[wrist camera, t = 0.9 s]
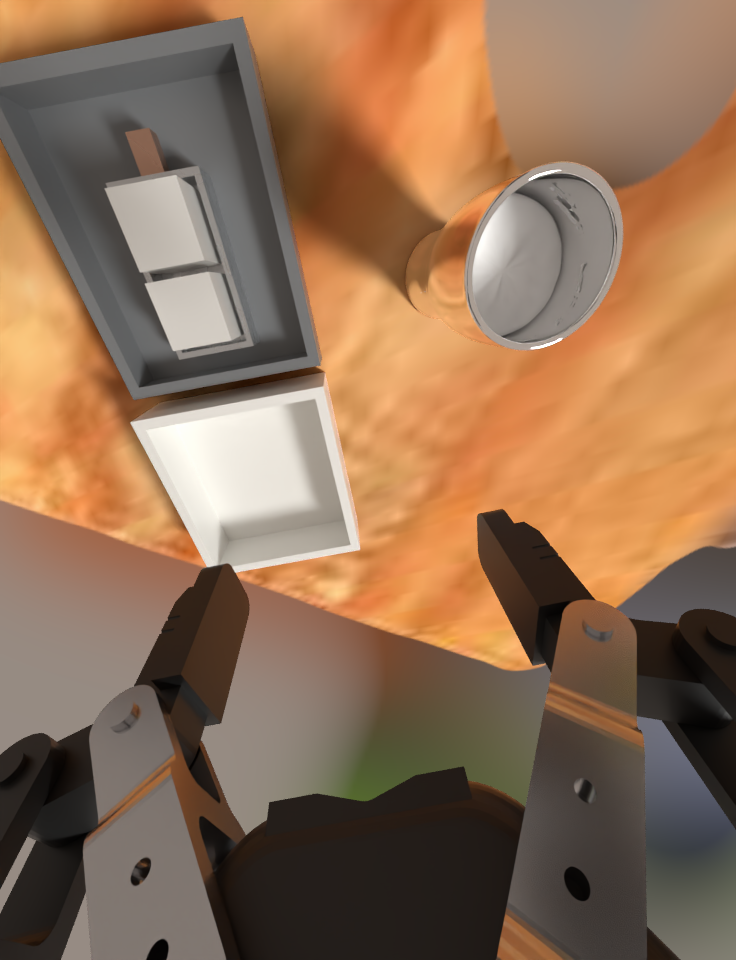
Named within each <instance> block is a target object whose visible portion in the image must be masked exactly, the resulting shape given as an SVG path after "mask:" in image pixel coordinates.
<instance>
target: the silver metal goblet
mask: <svg viewBox="0 0 736 960" xmlns="http://www.w3.org/2000/svg"><path fill="white" fill-rule="evenodd" d="M622 246H623V221H622V214H621V210H620V206H619V203H618V200H617V198H616V196H615V194H614V192H613V190H612V188H611V187H610V185H609V184H608V183H607V182H606V180H605V179H604V178H603V177H602V176H601V175H600V174H598V173H597V172H596V171H594V170H593V169H591V168H589V167H587V166H584V165H582V164H578V163H574V162H553V163H547V164H544V165H540V166H538V167H535V168H533V169H531V170H529V171H527V172H525V173H523V174H521V175H518V176H515V177H513V178H510V179H508V180H505V181H503V182H501V183H499V184H496V185H495V186H493V187H491V188H489V189H487V190H485V191H483V192H482V193H480V194H478V195H477V196H476V197H474V198H473V199H471V200H470V201H469V202H468V203H466V204H465V205H464V206H462V207H461V208H460V209H459V210H458V211H457V212H456V213H455V214H454V215H453V216H452V217H451V218H450V220H449V221H448V222H447V223H446V225H445V226H444V227H443V229H440V230H437V231H434V232H432V233H430V234H429V235H427V236H426V237H425V238H423V239H422V240H421V241H420V242H419V243H418V245H417V246H416V247H415V249H414V250H413V252H412V254H411V256H410V258H409V261H408V264H407V268H406V276H405V281H406V289H407V293H408V296H409V298H410V300H411V302H412V304H413V305H414V307H415V308H416V309H417V310H418V311H419V312H420V313H422V314H423V315H425V316H427V317H429V318H433V319H441V320H442V321H443V322H444V323H445V324H446V325H447V326H448V327H449V328H450V329H451V330H453V331H454V332H456V333H457V334H459V335H461V336H463V337H465V338H467V339H470V340H472V341H475V342H479V343H482V344H486V345H492V346H497V347H505V348H508V349H512V350H519V351H530V350H537V349H541V348H545V347H548V346H551V345H553V344H555V343H557V342H559V341H561V340H563V339H565V338H566V337H568V336H569V335H571V334H572V333H574V332H575V331H576V330H577V329H579V328H580V327H581V326H582V325H583V324H584V323H585V322H586V321H587V320H588V319H589V318H590V317H591V316H592V314H593V313H594V312H595V311H596V309H597V308H598V307H599V305H600V304H601V302H602V301H603V299H604V298H605V296H606V294H607V292H608V290H609V289H610V286H611V284H612V282H613V280H614V277H615V275H616V272H617V269H618V266H619V262H620V258H621V252H622Z"/></svg>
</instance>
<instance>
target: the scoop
mask: <svg viewBox="0 0 736 960" xmlns="http://www.w3.org/2000/svg"><path fill="white" fill-rule="evenodd" d="M125 134H126V136H127V139H128V142H129V144H130V147H131V150H132V152H133V155H134V158H135V160H136V163H137V166H138V168H139V171H140V174H141V176H140V177H135V178H130V179H124V180H119V181H114V182H109V183H106V185H107V188H110V187H115V186H120V185H126V184H131V183H136V182H141V181H147V180H152V179H157V178H163V177H168V176H173V175H177V176H178V177H179V178H181V179H182V180H184V181H185V182H187V183H188V184H189V185H191V186H192V187H194V188H195V189H196V190H198V191H199V192H200V195H201V198H202V201H203V205H204V208H205V211H206V214H207V217H208V220H209V224H210V227H211V230H212V233H213V236H214V239H215V243H216V246H217V249H218V252H219V255H220V258H221V262H222V264H221V265H216V266H211V267H205V268H200V269H195V270H189V271H184V272H179V273H173V274H168V275H167V274H154V273H143V274H144V276H145V279H146V281H147V283H151V282H156V281H161V280H167V279H172V278H177V277H183V276H188V275H193V274H199V273H204V272H215V273H223V274H226V277H227V281H228V284H229V287H230V290H231V293H232V296H233V300H234V303H235V306H236V309H237V312H238V315H239V319H240V322H241V325H242V328H243V331H244V334H243V335H241V336H239V337H237V338H235V339H233V340H231V341H226V342H220V343H215V344H210V345H204V346H199V347H193V348H188V349H183V350H177V351H176V353H177V355H178V358H179V360H181V359H186V358H191V357H197V356H202V355H207V354H213V353H218V352H223V351H229V350H234V349H240V348H245V347H250V346H254V345H256V344H257V343H258V342H260V340H259V337H258V333H257V330H256V327H255V323H254V320H253V317H252V313H251V310H250V307H249V303H248V300H247V297H246V293H245V290H244V286H243V283H242V280H241V276H240V273H239V270H238V266H237V263H236V260H235V256H234V253H233V250H232V246H231V243H230V240H229V236H228V233H227V229H226V226H225V223H224V219H223V216H222V213H221V209H220V206H219V203H218V199H217V196H216V193H215V189H214V186H213V183H212V179H211V177H210V176H209V175H208V174H207V173H206V172H205V171H204V170H203V169H201V168H200V167H199V166H193V167H188V168H183V169H177V170H172V171H169V168H168V165H167V163H166V160H165V157H164V154H163V151H162V148H161V145H160V142H159V139H158V136H157V134H156V133H155V132H154V131H152V130H151V129H150V128H145V129H139V130H134V131H129V132H125Z"/></svg>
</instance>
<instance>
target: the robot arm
mask: <svg viewBox="0 0 736 960" xmlns="http://www.w3.org/2000/svg"><path fill="white" fill-rule="evenodd" d="M477 531H478V554H479V558H480V562H481V565H482V568H483V570H484V572H485V574H486V576H487V578H488V580H489V582H490V583H491V585H492V587H493V589H494V591H495V593H496V595H497V597H498V599H499V601H500V603H501V605H502V607H503V609H504V611H505V613H506V615H507V617H508V619H509V621H510V623H511V624H512V626H513V628H514V630H515V632H516V634H517V636H518V638H519V640H520V642H521V644H522V646H523V648H524V650H525V652H526V654H527V656H528V658H529V660H530V662H531V663H532V665H533V666H534V665H539V664H544V663H546V665H547V666H548V668H549V670H550V672H551V678H550V683H549V689H548V692H547V697H546V702H545V707H544V712H543V718H542V723H541V728H540V733H539V739H538V744H537V749H536V755H535V760H534V765H533V770H532V776H531V781H530V786H529V791H528V797H527V802H526V807H524V806H523V805H522V804H521V803H519V802H518V801H517V800H515V799H513V798H512V797H510V796H508V795H507V794H506V793H504V792H502V791H499V790H497V789H495V788H493V787H491V786H488V785H485V784H481V783H478V782H472V781H468V780H467V776H466V772H465V769H464V767H458V768H453V769H447V770H442V771H437V772H431V773H426V774H421V775H415V776H414V777H412V778H410V779H408V780H406V781H405V782H403V783H401V784H399V785H397V786H395V787H394V788H392V789H390V790H388V791H387V792H385V793H383V794H381V795H379V796H377V797H376V798H374V799H372V800H369V801H357V800H351V799H345V798H340V797H334V796H328V795H322V794H312V795H306V796H301V797H296V798H290V799H285V800H279V801H274V802H270V803H269V809H268V817H267V820H266V821H265V822H263V823H261V824H260V825H259V826H257V827H256V828H254V829H253V830H252V831H251V832H250V833H248V834H247V835H246V834H245V832H244V831H243V829H242V827H241V825H240V824H239V822H238V821H237V819H236V818H235V816H234V814H233V813H232V811H231V809H230V807H229V805H228V803H227V800H226V798H225V795H224V793H223V790H222V788H221V785H220V783H219V781H218V778H217V775H216V773H215V770H214V768H213V766H212V763H211V761H210V758H209V756H208V753H207V751H206V748H205V746H204V744H203V742H202V741H201V737H202V733H203V730H204V726H209V725H215V724H220V723H221V721H222V717H223V713H224V710H225V706H226V702H227V698H228V694H229V690H230V686H231V682H232V678H233V674H234V670H235V667H236V663H237V659H238V654H239V651H240V647H241V643H242V639H243V635H244V631H245V628H246V623H247V620H248V616H249V600H248V597H247V594H246V592H245V590H244V588H243V586H242V584H241V583H240V581H239V579H238V577H237V575H236V573H235V571H234V570H233V568H232V566H231V565H230V564H228V563H226V564H221V565H216V566H211V567H206V568H203V569H202V570H201V572H200V573H199V576H198V578H197V580H196V582H195V584H194V587H189V588H188V589H187V590H186V591H185V592H184V593H183V594H182V595H181V597H180V598H179V599H178V600H177V601H176V602H175V604H174V606H173V608H172V610H171V612H170V615H169V616H168V621H166V622H165V624H164V627H163V628H162V633H161V634H159V637H158V639H157V641H156V643H155V645H154V647H153V649H152V651H151V653H150V655H149V657H148V659H147V661H146V663H145V665H144V667H143V669H142V671H141V673H140V675H139V677H138V679H137V681H136V683H135V685H134V687H132V688H129V689H127V690H125V691H124V692H122V693H120V694H119V695H118V696H116V697H115V698H114V699H113V700H112V701H110V702H109V704H107V706H106V707H105V708H104V709H103V710H102V711H101V713H100V714H99V715H98V717H97V718H96V720H95V722H94V724H92V725H90V726H88V727H86V728H84V729H82V730H80V731H78V732H76V733H74V734H72V735H70V736H68V737H66V738H64V739H62V740H60V741H58V742H56V741H55V740H54V739H52V738H51V737H49V736H48V735H46V734H44V733H38V734H33V735H30V736H28V737H25V738H23V739H21V740H20V741H18V742H16V743H15V744H13V745H12V746H11V747H9V748H8V749H7V750H5V751H4V752H3V753H2V754H1V755H0V889H1V887H2V885H3V883H4V881H5V879H6V877H7V875H8V873H9V871H10V869H11V867H12V865H13V863H14V861H15V859H16V857H17V855H18V853H19V852H20V850H21V848H22V846H23V844H24V842H25V840H26V838H27V836H28V837H30V838H32V839H34V840H36V842H35V844H34V846H33V848H32V851H31V853H30V854H29V856H28V858H27V861H26V863H25V865H24V867H23V869H22V871H21V873H20V875H19V877H18V879H17V881H16V883H15V885H14V887H13V889H12V891H11V893H10V895H9V897H8V899H7V901H6V903H5V905H4V907H3V909H2V911H1V913H0V960H61V957H62V955H63V952H64V949H65V947H66V944H67V941H68V938H69V936H70V933H71V931H72V928H73V925H74V922H75V920H76V917H77V914H78V912H79V909H80V906H81V904H82V901H83V898H84V895H85V893H86V897H87V909H88V922H89V935H90V947H91V960H680V959H679V958H678V957H677V956H676V955H675V954H674V953H673V952H672V951H671V950H670V949H669V948H668V947H667V946H666V945H665V944H664V943H663V942H662V941H661V940H660V939H659V938H658V937H657V936H656V935H655V934H654V933H653V932H652V931H651V930H650V929H649V928H648V927H647V921H646V920H647V916H646V841H645V840H646V838H645V837H646V833H645V752H644V739H643V734H642V732H641V730H639V729H638V727H637V716H640V717H646V718H652V719H658V720H662V722H663V723H664V724H665V726H666V727H667V729H668V730H669V732H670V733H671V735H672V736H673V738H674V739H675V741H676V742H677V744H678V745H679V747H680V748H681V750H682V751H683V752H684V754H685V755H686V757H687V758H688V760H689V761H690V763H691V764H692V766H693V767H694V769H695V770H696V772H697V773H698V775H699V776H700V777H701V779H702V780H703V781H704V783H705V785H706V786H707V788H708V789H709V791H710V792H711V794H712V795H713V797H714V798H715V800H716V801H717V803H718V804H719V805H720V807H721V808H722V810H723V811H724V813H725V814H726V816H727V817H728V819H729V820H730V821H731V823H732V824H733V826H734V828H735V829H736V618H735V617H734V616H731V615H729V614H726V613H723V612H719V611H715V610H709V609H694V610H690V611H687V612H685V613H684V614H683V615H682V616H681V618H680V619H679V622H678V624H674V623H664V622H653V621H643V620H635V619H630V618H627V617H626V616H625V615H624V614H623V613H622V612H620V611H619V610H618V609H616V608H614V607H613V606H610V605H608V604H606V603H603V602H600V601H596V600H595V599H594V598H593V597H592V595H591V594H590V593H589V592H588V590H587V589H586V588H585V587H584V585H583V584H582V583H581V582H580V581H579V579H578V578H577V577H576V576H575V574H574V573H573V572H572V571H571V569H570V568H569V567H568V566H567V565H566V563H565V562H564V561H563V560H562V558H561V557H559V556H558V553H557V552H556V551H555V550H554V549H553V547H552V546H550V544H549V542H548V541H547V540H546V539H545V537H544V536H543V535H542V534H541V533H540V531H538V530H537V529H535V528H533V527H532V526H530V525H528V524H527V523H525V522H520V523H515V524H514V523H513V521H512V520H511V519H510V517H509V516H508V514H507V513H506V512H505V511H504V510H503V509H500V510H495V511H490V512H485V513H480V514H478V516H477Z"/></svg>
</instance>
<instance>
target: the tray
mask: <svg viewBox="0 0 736 960" xmlns="http://www.w3.org/2000/svg"><path fill="white" fill-rule="evenodd" d="M145 128H150V129H151V130H152V131H154V132H155V133H156V134H157V136H158V139H159V142H160V145H161V148H162V151H163V154H164V157H165V160H166V163H167V165H168V168H169V171H172V170H177V169H183V168H188V167H193V166H199V167H200V168H201V169H203V170H204V171H205V172H206V173H207V174H208V175H209V176H210V177H211V179H212V183H213V186H214V189H215V193H216V196H217V199H218V203H219V206H220V209H221V213H222V216H223V219H224V223H225V226H226V229H227V233H228V236H229V240H230V243H231V246H232V250H233V253H234V256H235V260H236V263H237V266H238V270H239V273H240V276H241V280H242V283H243V286H244V290H245V293H246V297H247V300H248V303H249V307H250V310H251V313H252V317H253V320H254V323H255V327H256V330H257V333H258V337H259V340H260V342H258V343H257V344H256V345H254V346H250V347H245V348H240V349H234V350H229V351H223V352H218V353H213V354H207V355H202V356H197V357H191V358H186V359H181V360H179V358H178V355H177V353H176V351H173V350H172V347H171V345H170V343H169V340H168V338H167V336H166V333H165V331H164V328H163V326H162V324H161V321H160V319H159V317H158V314H157V312H156V309H155V307H154V305H153V302H152V300H151V298H150V295H149V293H148V291H147V288H146V286H145V283H147V281H146V279H145V276H144V274H143V273H141V272H139V269H138V267H137V264H136V262H135V260H134V257H133V255H132V253H131V250H130V248H129V245H128V243H127V241H126V238H125V236H124V234H123V231H122V229H121V226H120V224H119V222H118V219H117V217H116V215H115V212H114V210H113V208H112V205H111V203H110V200H109V198H108V196H107V193H106V191H105V189H104V188H107V185H106V183H109V182H114V181H119V180H124V179H130V178H135V177H140V176H141V174H140V171H139V168H138V166H137V163H136V160H135V158H134V155H133V152H132V150H131V147H130V144H129V142H128V139H127V136H126V134H125V132H129V131H134V130H139V129H145ZM0 139H1V141H2V143H3V145H4V147H5V149H6V151H7V153H8V155H9V156H10V158H11V160H12V162H13V164H14V166H15V168H16V170H17V172H18V174H19V176H20V178H21V180H22V182H23V184H24V186H25V188H26V190H27V192H28V194H29V196H30V198H31V200H32V202H33V204H34V206H35V207H36V209H37V211H38V213H39V215H40V217H41V219H42V221H43V223H44V225H45V227H46V229H47V231H48V233H49V235H50V237H51V239H52V241H53V243H54V245H55V247H56V249H57V251H58V253H59V255H60V256H61V258H62V260H63V262H64V264H65V266H66V268H67V270H68V272H69V274H70V276H71V278H72V280H73V282H74V284H75V286H76V288H77V290H78V292H79V294H80V296H81V298H82V300H83V302H84V304H85V306H86V307H87V309H88V311H89V313H90V315H91V317H92V319H93V321H94V323H95V325H96V327H97V329H98V331H99V333H100V335H101V337H102V339H103V341H104V343H105V345H106V347H107V349H108V351H109V353H110V355H111V357H112V358H113V360H114V362H115V364H116V366H117V368H118V370H119V372H120V374H121V376H122V378H123V380H124V382H125V384H126V386H127V388H128V390H129V392H130V394H131V396H132V398H133V400H137V399H142V398H147V397H153V396H158V395H164V394H169V393H174V392H180V391H185V390H191V389H196V388H201V387H207V386H212V385H217V384H223V383H228V382H234V381H239V380H244V379H250V378H255V377H261V376H266V375H271V374H277V373H282V372H287V371H293V370H298V369H304V368H309V367H314V366H320V365H321V360H322V356H321V352H320V347H319V343H318V338H317V333H316V329H315V324H314V320H313V315H312V311H311V306H310V301H309V297H308V292H307V288H306V283H305V279H304V274H303V270H302V265H301V260H300V256H299V251H298V247H297V242H296V238H295V233H294V228H293V224H292V219H291V215H290V210H289V206H288V201H287V197H286V192H285V187H284V183H283V178H282V174H281V169H280V165H279V160H278V155H277V151H276V146H275V142H274V137H273V133H272V128H271V124H270V119H269V114H268V110H267V105H266V101H265V96H264V92H263V87H262V83H261V78H260V73H259V69H258V64H257V60H256V55H255V52H254V49H253V46H252V43H251V40H250V37H249V34H248V31H247V28H246V26H245V23H244V20H243V17H240V18H235V19H229V20H224V21H219V22H214V23H208V24H203V25H198V26H193V27H188V28H182V29H177V30H172V31H167V32H161V33H156V34H151V35H146V36H141V37H135V38H130V39H125V40H120V41H114V42H109V43H104V44H99V45H94V46H88V47H83V48H78V49H73V50H67V51H62V52H57V53H52V54H47V55H41V56H36V57H31V58H26V59H20V60H15V61H10V62H5V63H0Z"/></svg>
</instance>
